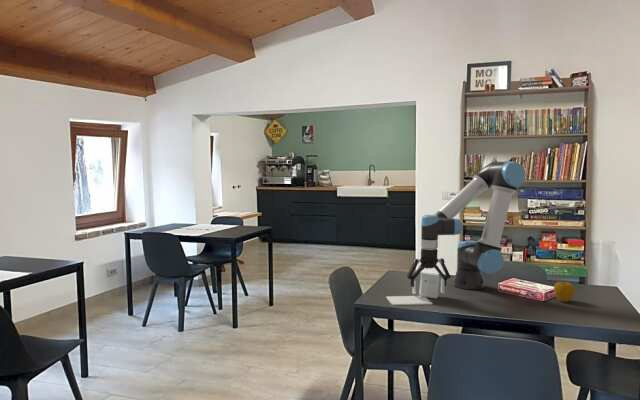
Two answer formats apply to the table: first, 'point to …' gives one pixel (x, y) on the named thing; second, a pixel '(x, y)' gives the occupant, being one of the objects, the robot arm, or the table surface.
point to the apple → (564, 291)
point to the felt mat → (408, 300)
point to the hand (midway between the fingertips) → (428, 293)
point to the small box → (429, 285)
